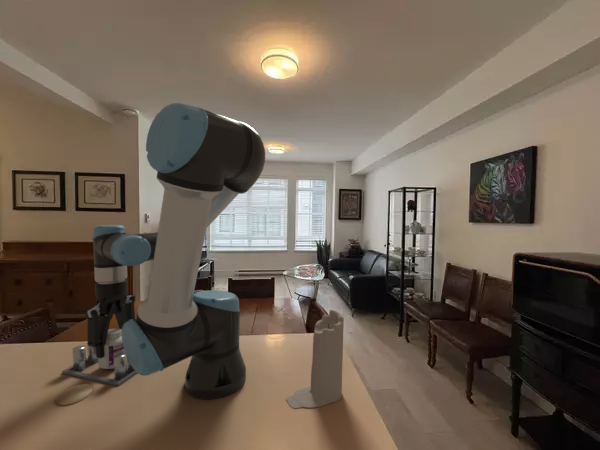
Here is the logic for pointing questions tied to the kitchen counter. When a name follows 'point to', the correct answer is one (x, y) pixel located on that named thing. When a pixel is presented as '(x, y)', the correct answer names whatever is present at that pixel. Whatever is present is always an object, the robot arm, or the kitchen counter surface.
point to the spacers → (80, 361)
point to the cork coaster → (74, 394)
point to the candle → (324, 365)
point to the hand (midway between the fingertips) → (114, 361)
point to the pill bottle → (114, 344)
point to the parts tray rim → (98, 378)
